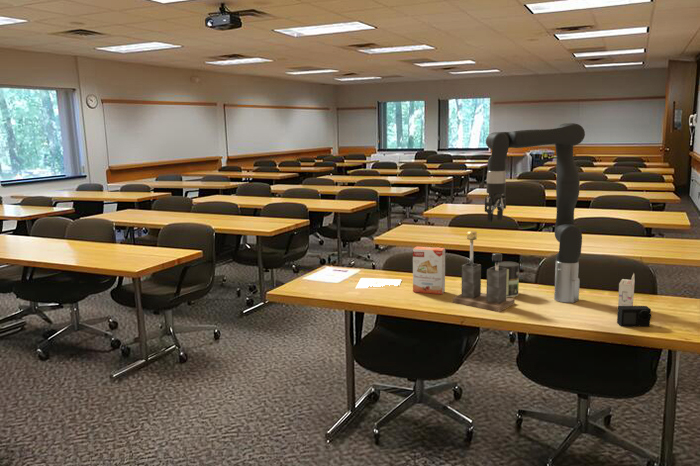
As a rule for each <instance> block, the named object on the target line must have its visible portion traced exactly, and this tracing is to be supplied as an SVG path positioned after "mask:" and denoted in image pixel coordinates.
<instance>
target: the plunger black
mask: <svg viewBox="0 0 700 466" xmlns="http://www.w3.org/2000/svg"><path fill="white" fill-rule="evenodd" d="M491 255H492V256H491V261H492V262H493V263H494V267H495V270H497V271H499V262H503V254H502V253H500V252H494V253H492V254H491Z"/></svg>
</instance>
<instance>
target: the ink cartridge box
mask: <svg viewBox="0 0 700 466" xmlns="http://www.w3.org/2000/svg"><path fill="white" fill-rule="evenodd" d="M635 283H636V282H635V273H633V274H632V276H631V279H626V278H625V279H624V278H622V279H621V280H620V282H619V283H618V303H617V305H618V306H634V295H635ZM618 306H617V307H618Z"/></svg>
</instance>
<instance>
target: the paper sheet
mask: <svg viewBox="0 0 700 466" xmlns="http://www.w3.org/2000/svg"><path fill="white" fill-rule="evenodd" d="M402 281H403V280H402V279H401V278H399V279H398V278H397V279H395V278H373V277H372V278H371V277H361V278H360V279H359V281H358V283H357V284H356V286H355V289H369V288H368V287H369V286H370V287H372V286H373V287H381V286H382V287H383V286H385V285H389V286H390V285H394V286H398V285H399V286H400V285H401V283H402Z"/></svg>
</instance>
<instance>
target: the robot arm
mask: <svg viewBox="0 0 700 466" xmlns="http://www.w3.org/2000/svg"><path fill="white" fill-rule="evenodd" d="M585 136H586V132H585V129H584V127H583V126H582V125H581V124H578V123H575V122H574V123H573V122H569V123H561V124H559V125H558V126H557V127H555V128H545V129H543V128H542V129H540V128H539V129H536V128H535V129H520V130H514V131H497V132H496V131H495V132H491V133H490V134H488V135H487V136H486V139H485V144H486V146H487V147H488V148H489V149H491V154H490V157H489V158H488V160H487V173H486V193H487V194H489V196H488V197H487V196H486V197H485V199H484V212H485V213H486V214H487V223H493V222H494V212H495V209H496V210H497V211H496V220H500V221H503V218H504V217H503V216H504V211H505V209H506V208H507V195H506V187H507V186H506V184H507V183H506V182H507V181H506V178H507V176H506V175H507V174H506V163H507V162H506V161H507V156H508V152H509V149H510V148H511V149H521V148H522V149H523V148H524V149H525V148H533V147H539V146H547V145H555V146H554V147H555V155H556V156H555V157H556V161H555V163H556V168H555V170H556V179H555V184H556V185H555V191H556V193H555V199H556V200H555V201H556V203H555V204H556V216H555V227H554V238H555V239H556V241H557V242H558V243H559V248H558V253H556V255H555V269H554V296H553V297H554V298H553V299H554V300H555V301H557V302H561V303H570V304H571V303H572V304H573V303H576V302H577V301H579V298H580V297H579V296H580V280H581V279H580V278H579V265H580V264H579V263H580V262H579V260H580V257H581V255H582V248H583V247H582V245H583V234H582V230H581V229H580V227H578V226H576V225H575V208H576V205H577V204H578V203H577V202H578V199H579V196H580V189H581V188H580V185H581V184H580V174H579V170H578V168H577V165H576V162H575V159H574V146H577V145H580V144H581V143H582V142H583V140H584V139H585Z"/></svg>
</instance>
